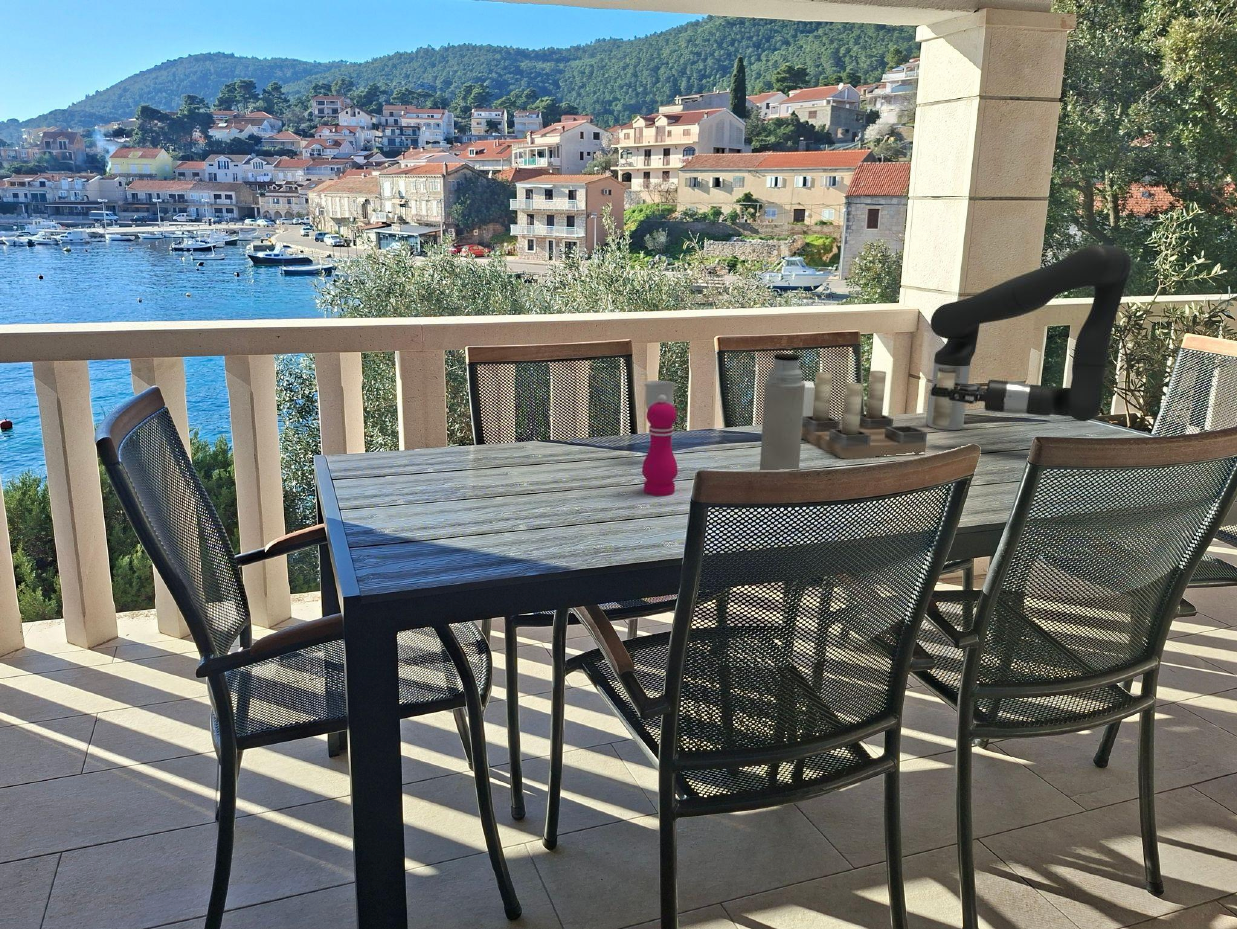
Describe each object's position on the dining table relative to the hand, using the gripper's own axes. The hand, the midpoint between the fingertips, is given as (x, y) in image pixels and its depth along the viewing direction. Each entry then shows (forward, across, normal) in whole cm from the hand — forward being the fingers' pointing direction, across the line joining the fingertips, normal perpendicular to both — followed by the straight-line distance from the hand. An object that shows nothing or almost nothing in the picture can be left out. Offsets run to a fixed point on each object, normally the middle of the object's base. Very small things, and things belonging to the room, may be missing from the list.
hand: (933, 389), depth 233 cm
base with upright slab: (+32, -3, +15) cm, 35 cm away
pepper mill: (+44, +69, +14) cm, 83 cm away
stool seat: (+15, +9, +14) cm, 22 cm away
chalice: (+53, +46, +14) cm, 72 cm away
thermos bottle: (+23, +55, +14) cm, 61 cm away
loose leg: (-3, 0, +8) cm, 9 cm away
